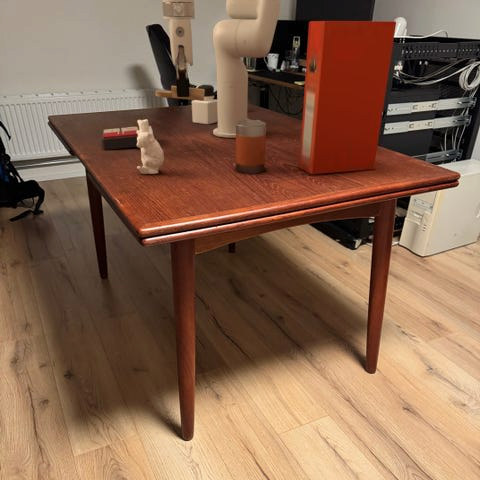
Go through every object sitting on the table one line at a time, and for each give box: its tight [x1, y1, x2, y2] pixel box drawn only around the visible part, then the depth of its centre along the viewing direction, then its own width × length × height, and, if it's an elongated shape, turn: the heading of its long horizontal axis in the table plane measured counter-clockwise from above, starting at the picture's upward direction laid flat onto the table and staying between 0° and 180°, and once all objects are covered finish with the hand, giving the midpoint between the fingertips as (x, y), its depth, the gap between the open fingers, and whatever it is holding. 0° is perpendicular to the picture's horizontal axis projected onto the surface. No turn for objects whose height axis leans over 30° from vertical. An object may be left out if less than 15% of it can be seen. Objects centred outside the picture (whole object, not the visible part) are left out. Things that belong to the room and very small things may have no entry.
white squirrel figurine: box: [136, 119, 165, 175], centre depth 115 cm, size 8×7×12 cm
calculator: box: [101, 125, 157, 151], centre depth 141 cm, size 11×4×15 cm
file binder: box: [298, 20, 397, 176], centre depth 113 cm, size 8×17×32 cm, turn 108°
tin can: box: [235, 119, 267, 175], centre depth 117 cm, size 7×7×11 cm
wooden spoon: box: [155, 85, 205, 101], centre depth 123 cm, size 12×4×3 cm, turn 97°
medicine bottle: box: [191, 84, 218, 125], centre depth 168 cm, size 7×7×12 cm
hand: (183, 95), depth 124 cm, fingers closed on wooden spoon
